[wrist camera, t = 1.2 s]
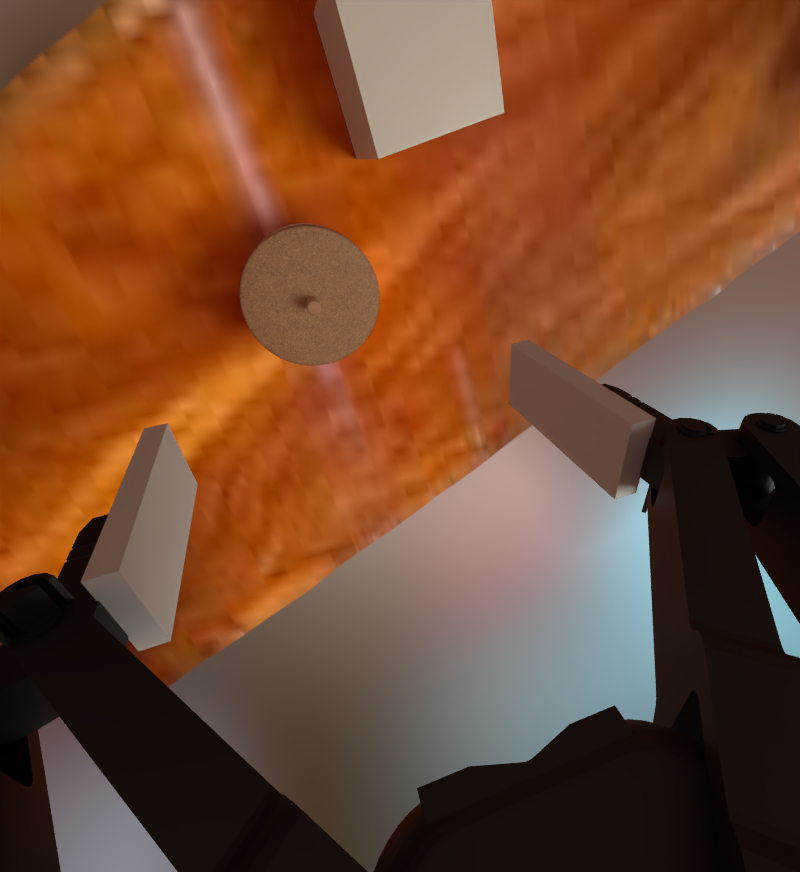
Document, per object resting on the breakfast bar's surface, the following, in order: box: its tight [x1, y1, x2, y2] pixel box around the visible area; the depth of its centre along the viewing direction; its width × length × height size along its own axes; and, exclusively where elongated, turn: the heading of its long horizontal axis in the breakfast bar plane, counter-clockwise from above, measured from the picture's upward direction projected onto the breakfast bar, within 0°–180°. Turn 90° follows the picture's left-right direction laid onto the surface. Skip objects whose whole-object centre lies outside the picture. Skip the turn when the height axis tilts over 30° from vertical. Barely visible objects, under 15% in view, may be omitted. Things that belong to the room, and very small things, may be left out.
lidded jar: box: [239, 223, 380, 365], centre depth 35 cm, size 11×11×9 cm
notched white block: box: [313, 0, 504, 159], centre depth 29 cm, size 9×9×9 cm
